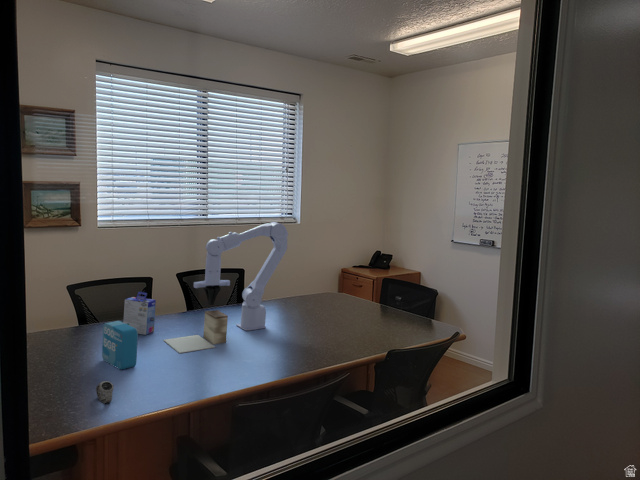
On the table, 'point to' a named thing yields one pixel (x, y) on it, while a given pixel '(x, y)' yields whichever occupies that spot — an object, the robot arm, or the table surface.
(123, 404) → the table surface
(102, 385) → the grey stone mug
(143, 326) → the ink cartridge box
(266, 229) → the robot arm
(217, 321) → the ash block
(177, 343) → the mat
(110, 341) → the data package
